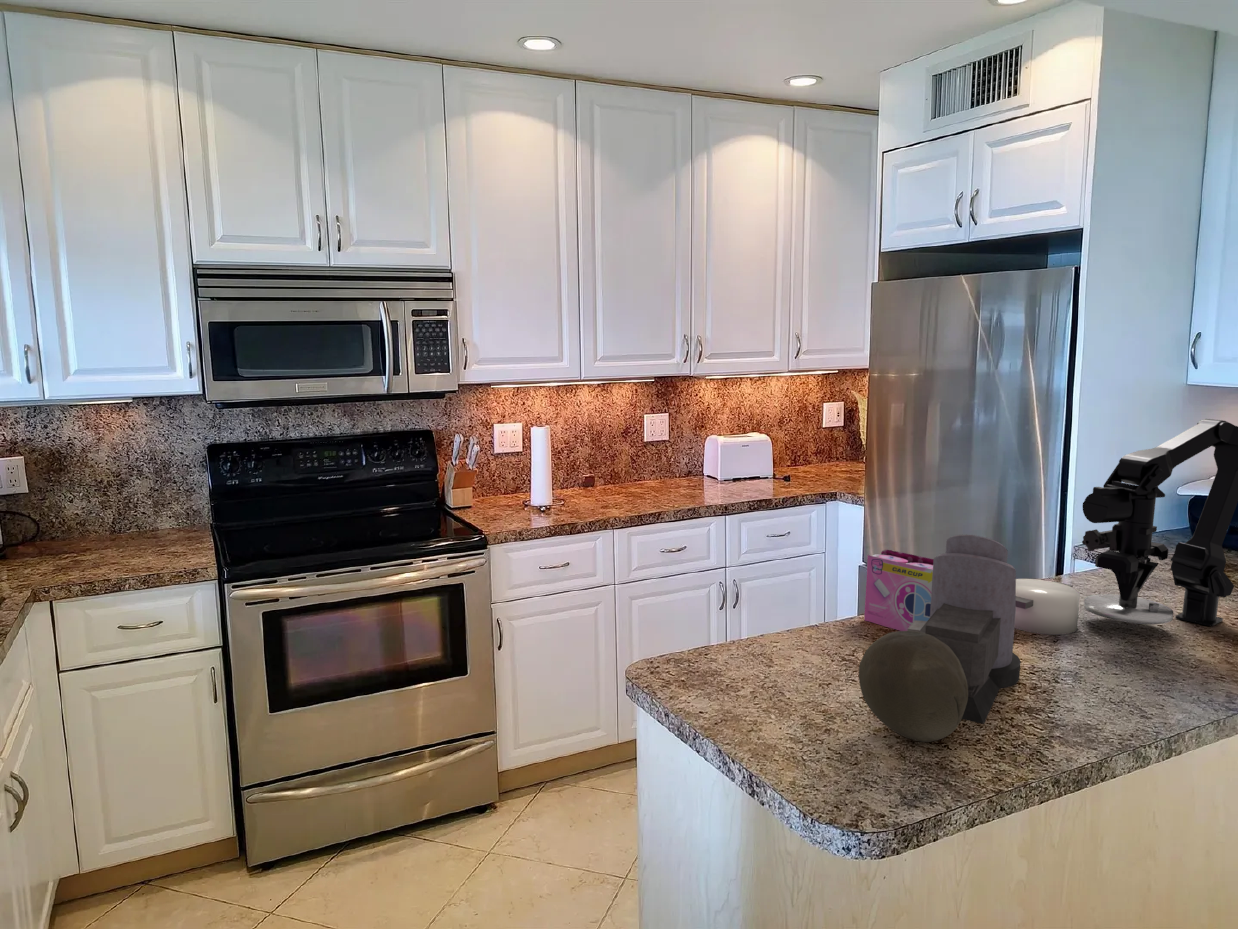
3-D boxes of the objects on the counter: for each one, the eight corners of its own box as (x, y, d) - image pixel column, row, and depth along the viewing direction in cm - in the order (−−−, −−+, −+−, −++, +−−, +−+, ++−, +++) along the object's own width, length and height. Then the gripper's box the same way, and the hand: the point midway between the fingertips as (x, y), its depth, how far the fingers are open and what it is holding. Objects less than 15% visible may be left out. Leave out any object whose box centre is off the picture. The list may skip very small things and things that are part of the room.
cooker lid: (1103, 595, 176) (1105, 571, 175) (1185, 614, 164) (1188, 588, 163) (1069, 609, 167) (1072, 583, 166) (1154, 629, 155) (1156, 602, 154)
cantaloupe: (938, 714, 127) (944, 618, 124) (981, 761, 113) (989, 653, 110) (845, 715, 126) (849, 618, 124) (876, 762, 112) (882, 653, 110)
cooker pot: (1026, 604, 180) (1029, 572, 179) (1095, 622, 169) (1099, 588, 168) (978, 623, 168) (980, 588, 167) (1049, 643, 157) (1052, 606, 156)
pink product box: (856, 619, 170) (860, 553, 168) (878, 611, 175) (881, 547, 173) (972, 652, 152) (977, 579, 150) (992, 642, 158) (997, 571, 156)
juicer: (930, 645, 156) (938, 515, 152) (1026, 663, 148) (1037, 525, 144) (887, 703, 131) (896, 548, 127) (999, 728, 122) (1012, 564, 119)
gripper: (1112, 508, 175) (1105, 581, 177) (1070, 519, 163) (1063, 597, 166) (1172, 517, 166) (1164, 594, 168) (1133, 529, 155) (1125, 612, 157)
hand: (1128, 598), depth 165 cm, fingers closed on cooker lid, 3 cm apart
